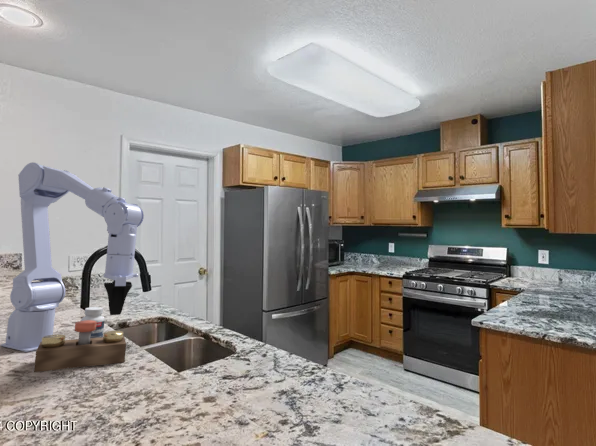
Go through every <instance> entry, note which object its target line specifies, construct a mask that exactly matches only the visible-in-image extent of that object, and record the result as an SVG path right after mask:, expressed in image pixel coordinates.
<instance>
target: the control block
mask: <svg viewBox="0 0 596 446" xmlns="http://www.w3.org/2000/svg"><path fill="white" fill-rule="evenodd" d="M78 340H79V338H78V339H65V344H64V345H62V346H59V347H51V348H46V347H42V346H41V344H42V342H41V343H40V345H39V347H38V349H37V350H35V358H34V367H33V373H39V372H49V371H50V372H51V371H58V370H66V369H75V368H84V367H85V368H86V367H92V366H93V367H95V366H102V365H112V364H120V363H121V364H122V363H125V360H126V349H127V342H126V339H125V336H124V335H123V340H122V341H119V342H111V343H107V342H103V337H101V338H90V344H87V345H78Z"/></svg>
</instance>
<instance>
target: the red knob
mask: <svg viewBox="0 0 596 446" xmlns="http://www.w3.org/2000/svg"><path fill="white" fill-rule="evenodd" d="M96 324H97V322H96V321H92V320H86V321H81V320H79V321H76V322H75V324H74V332H76V333H78V339H79V340H78V345H87V344H90V337H91V331H94V330H96Z"/></svg>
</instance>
